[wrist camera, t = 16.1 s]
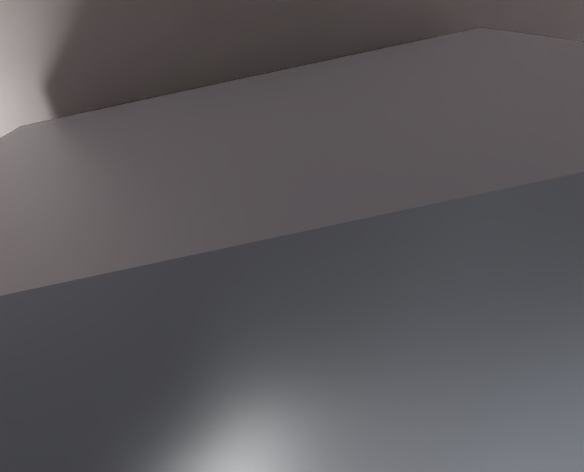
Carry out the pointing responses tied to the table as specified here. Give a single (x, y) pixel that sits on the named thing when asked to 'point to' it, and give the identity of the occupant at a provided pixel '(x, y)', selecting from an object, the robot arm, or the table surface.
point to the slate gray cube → (305, 270)
